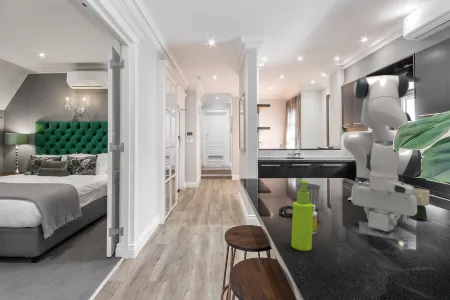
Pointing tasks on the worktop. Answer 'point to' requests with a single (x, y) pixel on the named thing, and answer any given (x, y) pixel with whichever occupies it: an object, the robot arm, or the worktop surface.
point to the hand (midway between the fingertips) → (381, 221)
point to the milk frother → (313, 199)
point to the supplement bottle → (314, 221)
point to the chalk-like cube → (381, 219)
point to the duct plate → (382, 232)
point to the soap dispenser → (302, 220)
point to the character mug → (421, 203)
